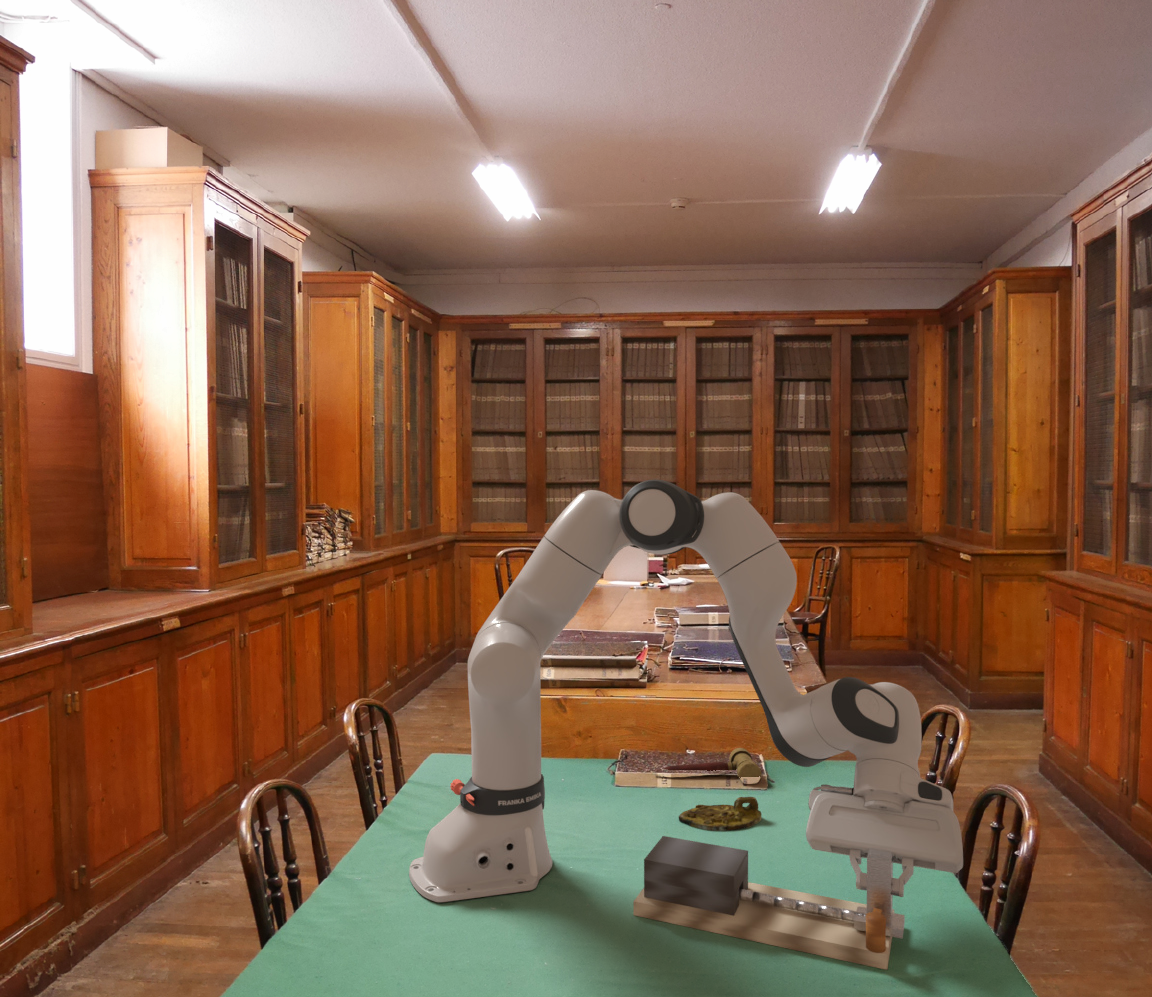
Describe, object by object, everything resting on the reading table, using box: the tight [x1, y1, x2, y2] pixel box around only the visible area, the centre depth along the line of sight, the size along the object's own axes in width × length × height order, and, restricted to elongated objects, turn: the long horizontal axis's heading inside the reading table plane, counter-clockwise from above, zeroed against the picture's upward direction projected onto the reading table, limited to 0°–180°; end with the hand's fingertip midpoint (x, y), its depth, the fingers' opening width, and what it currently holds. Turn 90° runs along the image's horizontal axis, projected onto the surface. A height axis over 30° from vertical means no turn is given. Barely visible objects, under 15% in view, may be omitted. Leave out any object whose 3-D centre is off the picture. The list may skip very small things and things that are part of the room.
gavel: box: [663, 747, 762, 778], centre depth 179 cm, size 21×5×10 cm
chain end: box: [739, 848, 906, 940], centre depth 120 cm, size 23×4×10 cm, turn 66°
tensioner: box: [633, 835, 895, 971], centre depth 123 cm, size 34×12×8 cm, turn 66°
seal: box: [678, 796, 762, 832], centre depth 157 cm, size 9×5×15 cm
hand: (879, 891), depth 116 cm, fingers closed on chain end, 3 cm apart
